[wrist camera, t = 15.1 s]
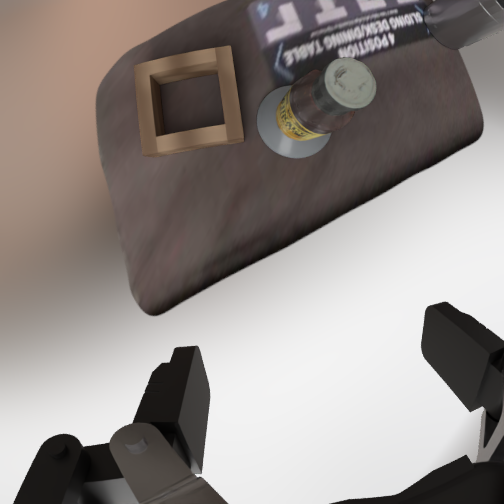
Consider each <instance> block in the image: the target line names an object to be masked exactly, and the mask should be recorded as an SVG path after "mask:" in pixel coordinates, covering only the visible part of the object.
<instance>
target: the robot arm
mask: <svg viewBox="0 0 504 504" xmlns="http://www.w3.org/2000/svg"><path fill="white" fill-rule="evenodd" d="M424 20H425V23H426V25H427V27H428V29H429V31H430V32H431V33H432V35H433V36H434V37H435V38H436V39H437V40H438V41H439V42H440V43H441V44H443V45H444V46H446V47H448V48H450V49H460V48H462V47H464V46H468V45H471V44H473V43H475V42H477V41H480V40H482V39H484V38H487V37H489V36H492V35H494V34H497V33H498V32H499V31H502V30H504V0H435V1H434V2H433V3H431V4H430V5H429V6H427V7H426V8H425V10H424ZM421 349H422V354H423V356H424V358H425V359H426V360H427V362H428V363H429V364H430V365H431V366H432V367H433V369H434V370H435V371H436V372H437V373H438V374H439V376H440V377H441V378H442V379H443V380H444V381H445V383H447V385H448V386H449V387H450V389H451V390H452V391H453V392H454V393H455V395H456V396H457V397H458V398H459V399H460V401H461V402H462V403H463V404H464V405H465V407H466V408H467V409H468V410H469V412H472V411H474V410H476V409H478V408H480V407H482V406H483V407H484V408H485V409H484V411H483V414H482V417H481V418H482V419H481V430H480V440H479V449H478V456H477V460H476V463H471V461H470V459H469V458H468V456H467V455H465V456H463V457H461V458H459V459H457V460H455V461H453V462H451V463H449V464H446V465H444V466H442V467H440V468H438V469H436V470H433V471H432V472H430V473H429V474H428V475H426V476H425V477H423V478H422V479H420V480H419V481H417V482H416V483H415V484H413V485H412V486H410V487H408V488H407V489H405V490H404V491H402V492H401V493H399V494H396V495H392V496H383V497H374V498H363V499H348V500H344V501H340V502H335V503H331V504H504V340H502V339H501V338H500V337H498V336H497V335H496V334H494V333H493V332H492V331H490V330H489V329H486V327H485V326H484V325H482V324H481V323H479V322H478V321H477V320H476V319H475V318H473V317H472V316H470V315H468V314H465V313H462V312H460V311H459V310H458V309H456V308H455V307H453V306H452V305H451V304H449V303H448V302H442V303H438V304H434V305H430V306H428V307H427V308H426V311H425V317H424V326H423V334H422V341H421ZM209 404H210V388H209V383H208V379H207V375H206V371H205V368H204V364H203V360H202V356H201V352H200V349H199V347H198V346H187V347H176V348H175V349H174V352H173V355H172V357H171V360H170V362H169V363H161V364H160V365H159V366H158V367H157V368H156V369H155V370H154V371H153V372H152V375H151V377H150V379H149V382H148V385H147V387H146V389H145V393H144V394H143V397H142V400H141V402H140V405H139V407H138V410H137V412H136V415H135V418H134V420H133V423H132V424H129V425H126V426H124V427H122V428H120V429H119V430H118V431H116V432H115V434H113V436H112V438H111V440H110V443H105V444H99V445H92V446H85V447H83V446H82V444H81V443H80V441H79V440H78V439H77V438H76V437H75V436H73V435H69V434H59V435H55V436H53V437H51V438H49V439H47V440H46V441H45V442H44V443H43V444H42V445H41V447H40V449H39V451H38V453H37V455H36V457H35V459H34V461H33V463H32V465H31V467H30V469H29V471H28V473H27V475H26V477H25V479H24V481H23V483H22V485H21V488H20V490H19V492H18V494H17V496H16V498H15V501H14V503H13V504H228V503H227V502H226V501H225V500H224V499H223V498H222V497H221V496H220V495H219V494H218V493H217V492H216V491H215V490H214V489H213V488H212V487H211V486H210V485H209V484H208V483H207V482H206V481H205V480H204V479H203V478H202V477H196V475H195V474H202V466H203V457H204V448H205V438H206V430H207V421H208V413H209Z"/></svg>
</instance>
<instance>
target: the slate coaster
mask: <svg viewBox="0 0 504 504" xmlns="http://www.w3.org/2000/svg"><path fill="white" fill-rule="evenodd" d="M290 88H291V86H284V87H280V88H278V89H276V90H274V91H272V92H271V93H269V94H268V95H267V96H266V97H265V98H264V100H263V101H262V103H261V105H260V107H259V109H258V113H257V128H258V131H259V134H260V136H261V138H262V140H263V141H264V143H265V144H266V145H267V146H268V147H269V148H270V149H271V150H272V151H274V152H275V153H277V154H279V155H282V156H284V157H288V158H304V157H308V156H311V155H313V154H315V153H317V152H318V151H319V150H321V149H322V148H323V147H324V146H325V145H326V143H327V142H328V140H329V138H330V135H331V133H329V134H326V135H323V136H319V137H316V138H313V139H310V140H305V141H298V140H294V139H291V138H288V137H287V136H286V135H285V134H284V133H282V131H281V130H280V129H279V127H278V125H277V121H276V110H277V107H278V105H279V103H280V102H281V100H282V99H283V97H284V96H285V95H286V93H287V92H288V91H289V89H290Z"/></svg>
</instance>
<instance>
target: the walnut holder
mask: <svg viewBox="0 0 504 504" xmlns="http://www.w3.org/2000/svg"><path fill="white" fill-rule="evenodd" d="M134 73H135V87H136V98H137V109H138V119H139V128H140V137H141V145H142V152H143V156H148V157H159V156H164V155H169V154H174V153H179V152H184V151H190V150H195V149H201V148H207V147H213V146H220V145H226V144H233V143H240V142H244V134H243V127H242V120H241V113H240V106H239V99H238V92H237V85H236V78H235V71H234V65H233V58H232V51H231V46H223V47H216V48H210V49H204V50H198V51H193V52H188V53H183V54H178V55H173V56H169V57H165V58H160V59H156V60H152V61H148V62H145V63H141V64H137V65H134ZM213 74H218V75H219V83H220V90H221V98H222V105H223V112H224V119H225V124H223V125H217V126H210V127H205V128H199V129H193V130H188V131H183V132H177V133H172V134H168V135H165V129H164V121H163V112H162V103H161V93H160V85H162V84H166V83H170V82H175V81H180V80H185V79H190V78H195V77H201V76H206V75H213Z"/></svg>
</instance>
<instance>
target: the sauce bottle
mask: <svg viewBox="0 0 504 504" xmlns="http://www.w3.org/2000/svg"><path fill="white" fill-rule="evenodd" d="M375 94H376V81H375V78H374V76H373V75H372V73H371V71H370V69H369V68H368V67H367V66H366V65H365V64H363V63H362V62H360V61H358V60H356V59H352V58H346V57H343V58H337V59H336V60H333V61H332V62H330V63H329V64H328V65H326V66H325V67H324V68H323V70H322V71H319V70H313V71H311V72H309V73H308V74H306V75H305V76H303V77H302V78H300V79H299V80H297V81H296V82H295V83H294V84H293V85H292V86H291V88H290V89H289V91H288V92H287V93H286V95H285V96H284V97H283V99H282V100H281V102H280V103H279V105H278V107H277V110H276V121H277V125H278V127H279V129H280V130H281V131H282V133H284V134H285V135H286V136H287V137H288V138H291V139H294V140H298V141H305V140H310V139H313V138H316V137H319V136H323V135H326V134H329V133H331V132H333V131H335V130H339V129H341V128H342V127H343V126H345V125H346V124H347V123H348V122H349V121H350V120H351V118H352V117H353V115H354V113H355V111H357V110H359V109H362V108H364V107H365V106H367V105H368V104H370V103H371V102H372V100H373V98H374V97H375Z"/></svg>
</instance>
